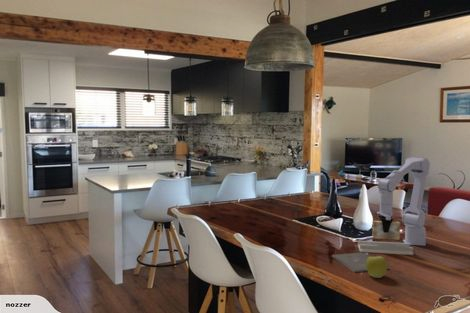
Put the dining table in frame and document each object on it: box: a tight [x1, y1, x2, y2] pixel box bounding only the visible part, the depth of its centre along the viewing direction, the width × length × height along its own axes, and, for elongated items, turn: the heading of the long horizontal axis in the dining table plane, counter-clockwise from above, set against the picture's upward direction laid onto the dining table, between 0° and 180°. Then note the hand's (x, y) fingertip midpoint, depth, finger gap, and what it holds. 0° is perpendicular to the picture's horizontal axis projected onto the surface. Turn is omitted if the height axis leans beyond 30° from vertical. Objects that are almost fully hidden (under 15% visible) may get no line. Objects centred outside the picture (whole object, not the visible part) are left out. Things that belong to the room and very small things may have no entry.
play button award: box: [331, 252, 390, 273], centre depth 181 cm, size 16×2×20 cm
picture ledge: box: [357, 240, 414, 256], centre depth 199 cm, size 24×10×3 cm, turn 79°
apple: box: [366, 255, 388, 279], centre depth 165 cm, size 8×8×10 cm
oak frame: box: [371, 220, 401, 240], centre depth 198 cm, size 12×3×8 cm, turn 79°
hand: (385, 231), depth 198 cm, fingers closed on oak frame, 3 cm apart
